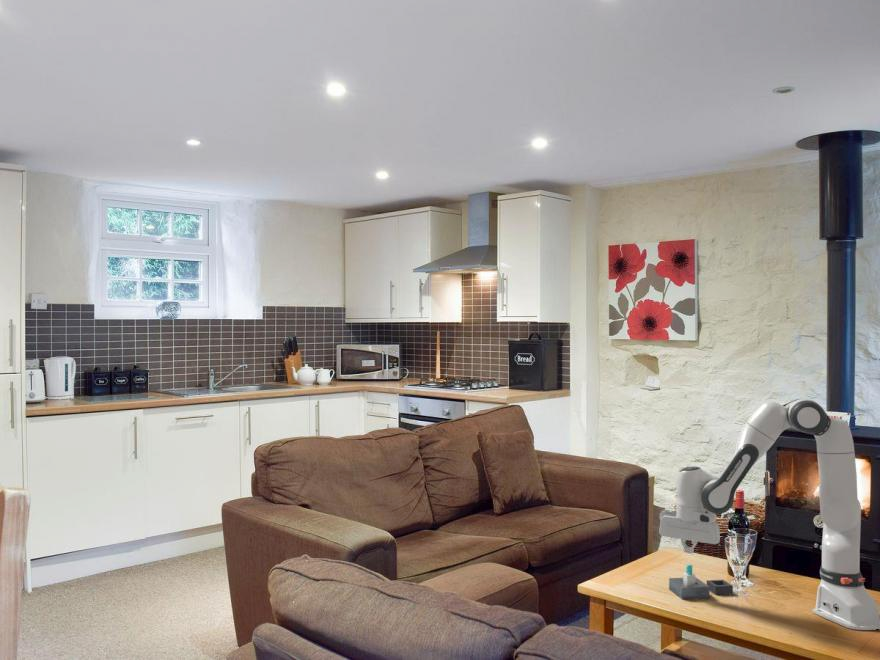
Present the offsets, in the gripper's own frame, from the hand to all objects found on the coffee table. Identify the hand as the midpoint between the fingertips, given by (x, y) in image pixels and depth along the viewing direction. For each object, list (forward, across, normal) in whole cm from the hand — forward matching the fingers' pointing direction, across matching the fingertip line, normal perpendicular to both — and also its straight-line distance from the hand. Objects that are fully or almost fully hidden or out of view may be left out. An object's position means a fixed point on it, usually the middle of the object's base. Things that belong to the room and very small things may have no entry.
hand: (688, 552), depth 264 cm
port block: (+14, 0, 0) cm, 14 cm away
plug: (+14, 0, 0) cm, 14 cm away
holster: (+14, +9, +8) cm, 19 cm away
